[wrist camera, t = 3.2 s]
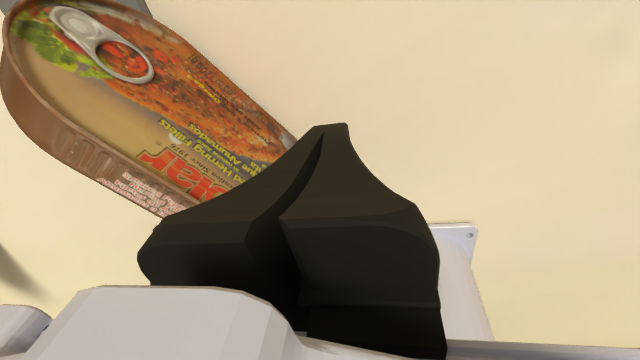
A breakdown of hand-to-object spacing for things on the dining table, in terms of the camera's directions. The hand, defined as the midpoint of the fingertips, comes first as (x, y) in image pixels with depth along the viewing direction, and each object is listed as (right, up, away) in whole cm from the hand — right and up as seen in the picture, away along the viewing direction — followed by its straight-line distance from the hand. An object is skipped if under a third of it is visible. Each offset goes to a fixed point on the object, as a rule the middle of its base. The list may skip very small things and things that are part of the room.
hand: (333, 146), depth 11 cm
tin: (-6, +3, +6) cm, 9 cm away
